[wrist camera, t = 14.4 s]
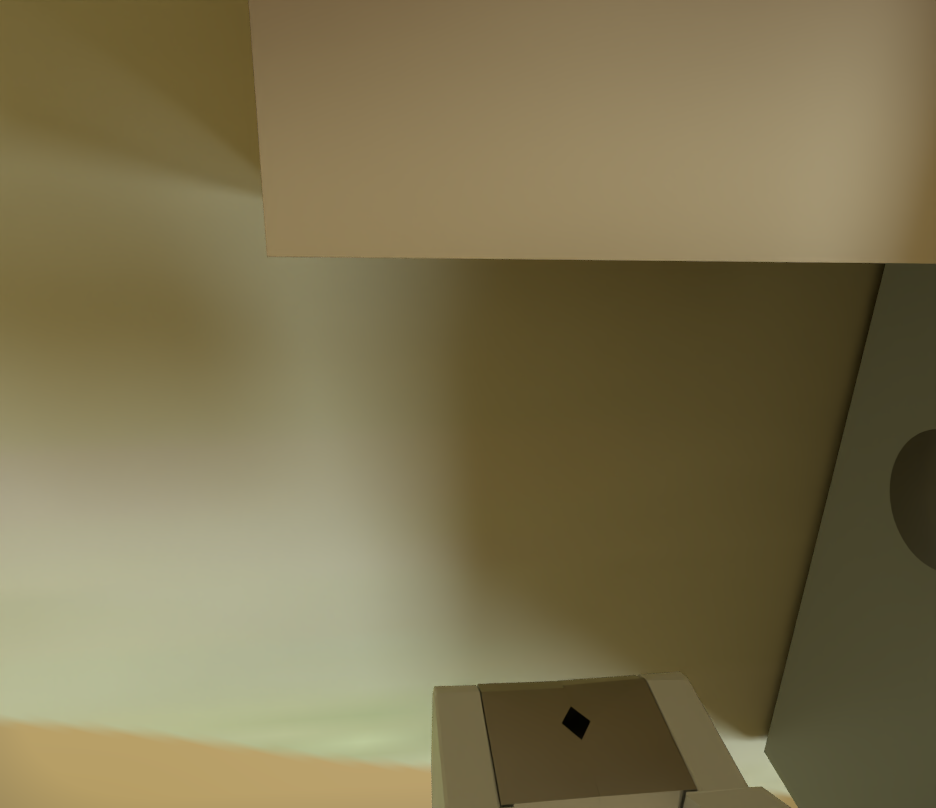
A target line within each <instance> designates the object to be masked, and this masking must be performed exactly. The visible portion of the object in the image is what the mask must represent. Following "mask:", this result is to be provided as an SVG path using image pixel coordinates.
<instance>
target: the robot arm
mask: <svg viewBox="0 0 936 808" xmlns="http://www.w3.org/2000/svg"><path fill="white" fill-rule="evenodd" d="M431 772H432V808H791V807H789V806H788V805H786V804H785V803H784V802H782V801H781V800H780V799H778V798H777V797H775V796H774V795H773V794H771V793H770V792H769V791H767V790H766V789H764V788H763V787H748V785H747V783H746V782H745V780H744V778H743V776H742V775H741V773H740V771H739V769H738V767H737V766H736V764H735V762H734V760H733V758H732V757H731V755H730V753H729V751H728V749H727V748H726V746H725V744H724V742H723V741H722V739H721V737H720V735H719V733H718V732H717V730H716V728H715V726H714V724H713V723H712V721H711V719H710V717H709V716H708V714H707V712H706V710H705V708H704V707H703V705H702V703H701V701H700V699H699V698H698V696H697V694H696V692H695V691H694V689H693V687H692V685H691V683H690V682H689V680H688V678H687V677H686V676H685V675H684V674H682V673H681V672H680V671H679V672H666V673H653V674H640V675H639V676H636V675H629V676H615V677H601V678H587V679H573V680H559V681H544V682H516V683H488V684H478V685H477V686H476V685H463V686H434V690H433V697H432V747H431Z"/></svg>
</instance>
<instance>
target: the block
mask: <svg viewBox="0 0 936 808" xmlns="http://www.w3.org/2000/svg"><path fill="white" fill-rule="evenodd" d="M248 2H249V15H250V29H251V43H252V57H253V70H254V84H255V98H256V111H257V125H258V139H259V153H260V166H261V180H262V194H263V208H264V221H265V235H266V249H267V257H359V258H453V259H547V260H640V261H734V262H828V263H921V264H936V0H248Z"/></svg>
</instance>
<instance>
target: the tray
mask: <svg viewBox="0 0 936 808" xmlns="http://www.w3.org/2000/svg"><path fill="white" fill-rule="evenodd" d="M764 752H765V754H766V755H767V757H768V759H769V760H770V762H771V764H772V765H773V767H774V769H775V770H776V772H777V774H778V775H779V777H780V778H781V780H782V782H783V783H784V785H785V787H786V788H787V790H788V792H789V793H790V795H791V797H792V798H793V800H794V801H795V803H796V805H797V806H798V808H936V264H921V263H886V264H885V268H884V272H883V276H882V280H881V284H880V288H879V292H878V296H877V300H876V304H875V308H874V312H873V316H872V320H871V324H870V328H869V332H868V336H867V340H866V344H865V348H864V352H863V356H862V360H861V365H860V369H859V373H858V377H857V381H856V385H855V389H854V393H853V397H852V401H851V405H850V409H849V413H848V417H847V421H846V425H845V429H844V433H843V437H842V441H841V445H840V449H839V453H838V457H837V461H836V465H835V469H834V473H833V477H832V481H831V485H830V489H829V493H828V497H827V501H826V505H825V509H824V513H823V517H822V521H821V525H820V529H819V533H818V537H817V541H816V545H815V549H814V553H813V557H812V561H811V565H810V569H809V573H808V577H807V581H806V585H805V589H804V593H803V597H802V601H801V605H800V609H799V613H798V617H797V621H796V625H795V629H794V633H793V638H792V642H791V646H790V650H789V654H788V658H787V662H786V666H785V670H784V674H783V678H782V682H781V686H780V690H779V694H778V698H777V702H776V706H775V710H774V714H773V718H772V722H771V726H770V730H769V734H768V738H767V742H766V746H765V750H764Z"/></svg>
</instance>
